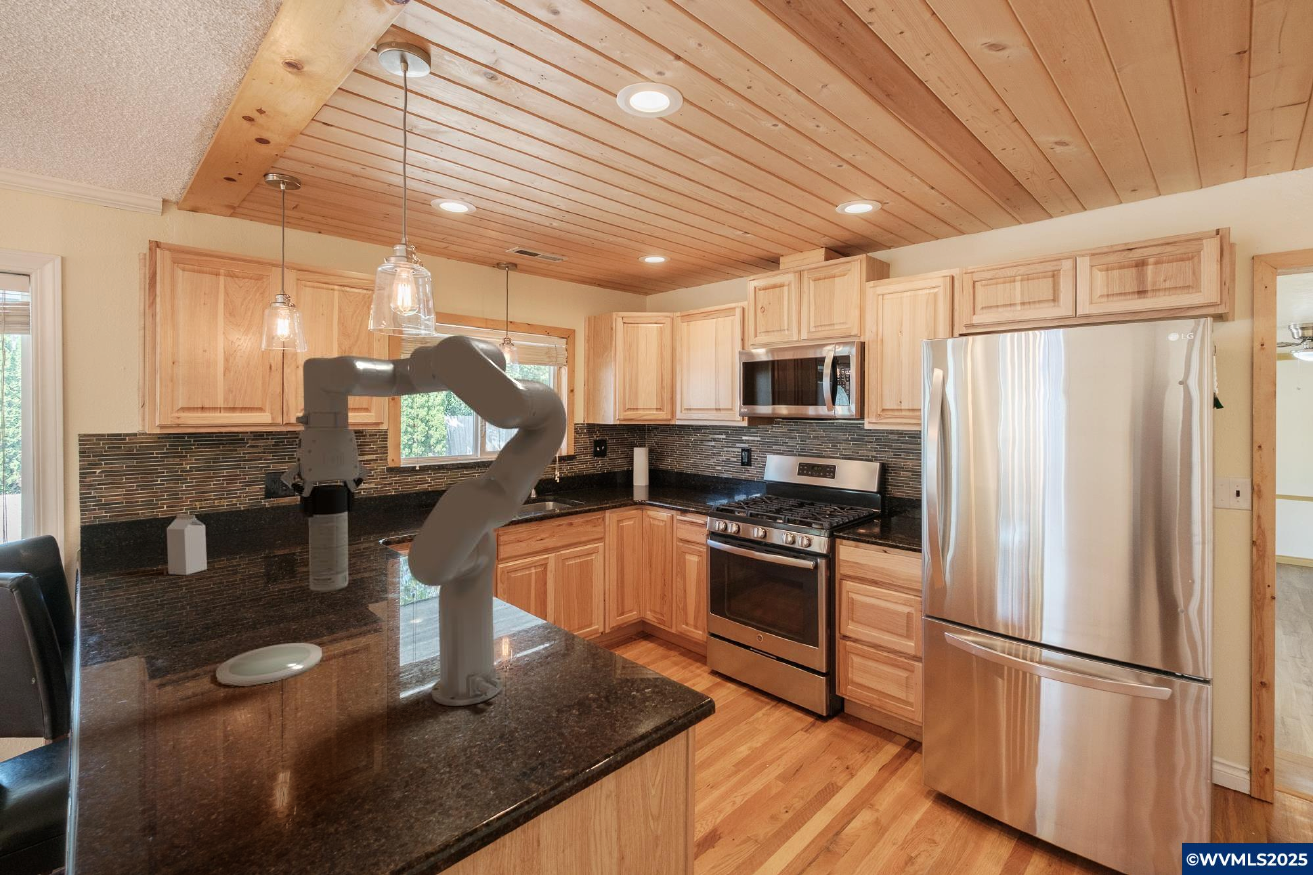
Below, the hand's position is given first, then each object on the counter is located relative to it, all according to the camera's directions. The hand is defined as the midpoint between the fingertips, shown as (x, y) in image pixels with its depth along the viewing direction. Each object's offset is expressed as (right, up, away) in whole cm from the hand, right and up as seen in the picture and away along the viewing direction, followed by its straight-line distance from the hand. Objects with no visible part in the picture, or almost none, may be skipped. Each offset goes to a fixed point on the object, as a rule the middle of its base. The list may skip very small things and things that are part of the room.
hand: (328, 513), depth 114 cm
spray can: (0, -15, +1) cm, 15 cm away
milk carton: (-90, -30, +79) cm, 123 cm away
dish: (-15, -32, +5) cm, 36 cm away
